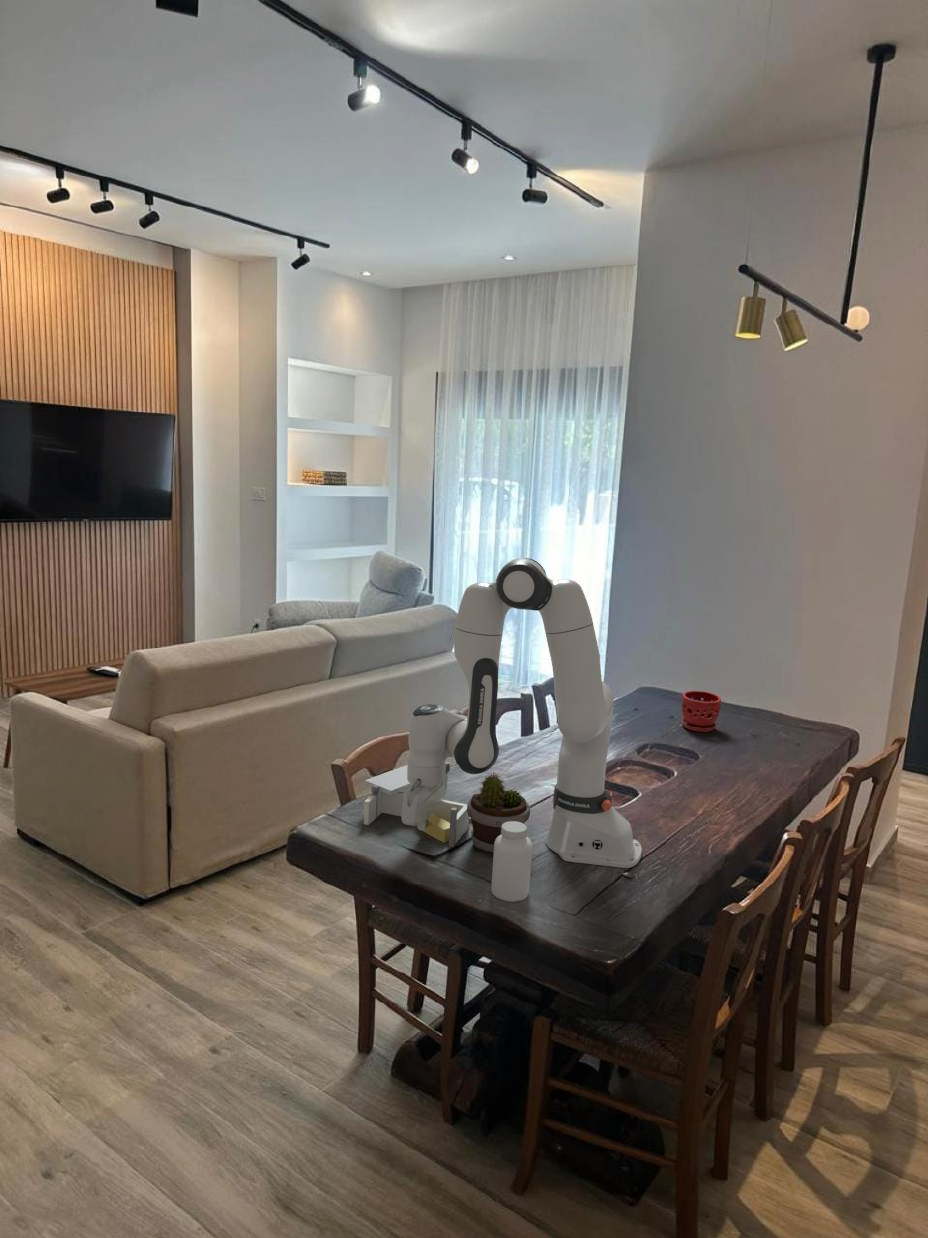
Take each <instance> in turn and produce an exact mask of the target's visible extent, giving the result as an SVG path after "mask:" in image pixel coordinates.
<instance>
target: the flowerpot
mask: <svg viewBox="0 0 928 1238" xmlns="http://www.w3.org/2000/svg"><path fill="white" fill-rule="evenodd" d="M496 772H497V771H496ZM496 772H495V771H494V770H493V771H492V774H489V775H488V774H487V775H485V776H484V777H483V779H484V780H483V781H481V782H478V783H480V785H481V786H482V787H479V793H474V794H473V795H472V797H470V799H469V800H468V801H467V804H468V805H467V813H468V816H469V817H470V818H469V819H470V821H471V826H472V830H471V832H470V833H471V834H470V836H471V841H472V843H473V845H474V846H475V848H476V849H477V850H478V851H480V852H481V853H484V854H486V855H489V856H493V855H494V843H495V840H496V838H497V837H498V836H499V835H501V826H502V824H503V823H505V822H509V821H516V822H521V823H523V824H525V823H526V822H528V820H529V819H530V816H531V809H530V805H529V803H528V802H527V801H526V798H524V797H523V796H522V795H521V790H519V788H517V789H516V788H514V789H509V790H507V789H506V786H505V785H504V783H505V784H506V782H505V780H504V779H503V777H502V778H501V776H500V775H499V773H496ZM517 790H519V791H517Z"/></svg>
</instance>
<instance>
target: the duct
mask: <svg viewBox="0 0 928 1238" xmlns="http://www.w3.org/2000/svg"><path fill="white" fill-rule="evenodd" d="M405 792H406V791H405ZM405 792H404V791H401V792H398V793H396V794H393V795H389V794H386V793H384V792H381V791H378V792H372V791H371V795H370V796H369V797H368V798H367V799H365V800H364V802H363V803H364V806H363V808H364V809H363V825H365V826H369V825H370V824H371V823H372V822H374V821H375V820H376V819H377V818H379V816H380V815H382V814H386V815H393V816H397V817H402V806H403V798H404V795H405ZM467 805H468V803H462V802H458V801H450V800H447V799H443V798H442V799H441V800H440V801H439V802H438V803H437V804H436V806H435V807H434V808H433V809H432V814H434V815H436V816H438V817H440V818H441V819H443V820H445V821H447V822H449V823H450V832H449V841H448V846H449V847H455V846H456V844H457V843H458V842H459V841H460V839H462V837H463V836H464V835H463V834H466V833H467V831H468V830H469V829H468V828H470V819H471V818H470V817H469V816H468V813H467ZM467 829H468V830H467ZM462 835H463V836H462ZM461 836H462V837H461ZM458 840H459V841H458Z"/></svg>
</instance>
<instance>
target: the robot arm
mask: <svg viewBox="0 0 928 1238" xmlns="http://www.w3.org/2000/svg"><path fill="white" fill-rule="evenodd" d="M588 603H589V602H588V600H587V597H586V596H585V593H584V590H583V589H582V586H581V585H580V584H579V583H578V582H576V581H575V580H572V579H568V578H567V579H566V578H565V579H564V578H563V579H556V580H555V579H554V580H553V579H550V578H549V577H548V576H547V573H546V570H545V568H544V567H543V565H542V564H541V563H539V561H537V560H535V559H533V558H529V557H519V558H515V559H512V560H510V561H508V562H507V563H506V564H504V566H503V567H502V568H501V569H500V571H499V572H498V573H497V577H496V579H495V580H494V581H493V582H482V581H481V582H475V583H473V584H470V585H469V586H467V588H465V590H464V593H463V594H462V597H461V601H460V604H459V608H458V612H457V616H456V620H455V628H454V635H453V653H454V657H455V659H456V661H457V662H458V665H459V667H460V668H461V670H462V672H463V674H464V676H465V679H466V681H467V686H468V706H467V715H466V714H465V715H464V714H460V713H455V712H453V711H450V709H447V708H446V707H445V706H443V705H442V704H438V703H427V704H423V705H421V706H418V707H417V708H416V709H414V710H413V712H412V714H411V717H410V722H409V730H408V740H407V741H408V742H407V743H408V747H409V753H408V756H407V765H408V766H407V780H408V782H410V783H411V784H412V785H411V786H410V788H408V789H406V791H405V795H404V798H403V806H402V817H401V816H400V817H401V822H402V823H403V824H404V825H407V826H413V827H417V824H418V828H417V829H418V830H419V831H422V830H423V832H424V830H425V829H426V828H427V827H428V826H429V822H430V817H431V813H432V809H433V808H434V807H435V806H436V804H437V803H438V802H439V801H440V800H441V799H442V800H443V799H444V797H446V793H447V789H448V782H449V773H450V771H451V762H449V761H446V759H448V758H453V759H454V760H455V762H456V763H457V766H458V767H459V768H460V769H461V770H462V771H463V772H464V773H466V774H469V775H479V774H483V773H485V772H487V771H489V770H490V769H491V768H492V767H493V766H494V765H495V764H496V762H497V760H498V757H499V754H500V747H499V746H500V745H499V743H498V737H497V734H496V717H497V716H496V715H497V704H498V694H499V693H498V691H499V670H500V669H499V667H500V666H499V664H500V654H501V647H502V638H503V633H504V626H505V620H506V615H507V614H508V612H509V611H510V610H511V609H516V610H525V611H527V610H528V611H538V612H539V614H540V616H541V619H542V623H543V627H544V628H543V629H544V632H545V633H544V634H545V638H546V642H547V648H548V652H549V656H550V660H551V666H552V673H553V674H552V676H553V688H554V696H555V697H554V698H555V706H556V715H557V717H556V718H557V721H556V722H557V726H558V730H559V732H560V733H561V734H562V737H561V743H560V747H559V751H558V761H557V762H558V763H557V774H556V775H557V776H556V784H555V786H554V789H553V794H552V795H553V797H552V805H553V806H552V808H553V813H552V818H551V822H550V826H549V829H548V832H547V835H546V837H545V840H544V841H545V845H546V846H547V848H548V849H550V850H551V851H553V852H554V853H556V854H558V855H559V857H560V858H561V859H562V860H563V861H564V862H570V863H578V864H586V865H587V864H588V865H597V866H605V867H612V868H613V867H614V868H621V869H622V868H623V869H630V868H633V867H635V866H636V865H638V863H639V862H640V861H641V858H642V854H643V851H642V850H643V849H642V848H643V847H642V845H641V843H640V842H639V841H638V840H637V839H636V838H635V839H634V836H633V829H632V825H631V824H630V821H628V820H627V819H626V818H625V817H624V816H623V815H622V814H620V813H619V812H618V811H617V810H615V809H614V807H613V806H612V804H613V792H612V791H610V793H609V792H608V791H607V790H606V789H605V782H606V781H605V780H606V771H607V760H608V753H609V748H610V746H609V745H610V738H611V730H612V725H613V724H612V722H613V715H614V707H615V698H614V694H613V692H612V689H611V688H610V686H609V685H608V684H607V683H605V681H603V679H602V669H601V654H600V650H599V645H598V640H597V635H596V630H595V626H594V622H593V617H592V613H591V610H590V606H589V604H588ZM448 772H449V773H448Z"/></svg>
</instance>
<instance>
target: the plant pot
mask: <svg viewBox="0 0 928 1238" xmlns="http://www.w3.org/2000/svg"><path fill="white" fill-rule="evenodd" d="M721 707H722V698H721V696H719V695H717V694H715V693H712V692H708V691H704V690H687V691H685V692H683V693H682V696H681V713H682V717H683V719H682V720H681V724H682V725H683V727H685V729H688V730H690V731H694V732H698V733H699V732H700V733H708V732H709V733H710V732H713V730H715V729H716V728H717V723H716V721H717V719H718V718H719V714H720V712H721Z"/></svg>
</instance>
